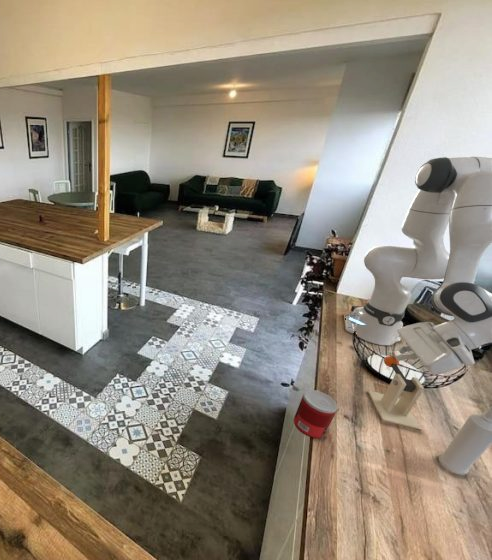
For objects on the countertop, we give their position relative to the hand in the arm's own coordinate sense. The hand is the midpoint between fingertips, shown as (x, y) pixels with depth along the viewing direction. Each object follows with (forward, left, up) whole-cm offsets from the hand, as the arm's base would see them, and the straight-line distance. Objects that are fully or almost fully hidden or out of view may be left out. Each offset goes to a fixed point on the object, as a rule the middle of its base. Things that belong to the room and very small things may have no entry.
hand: (394, 356), depth 98 cm
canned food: (+27, -25, -13) cm, 39 cm away
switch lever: (+5, 0, -4) cm, 7 cm away
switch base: (+11, 0, -13) cm, 17 cm away
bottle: (+27, +7, -14) cm, 31 cm away
